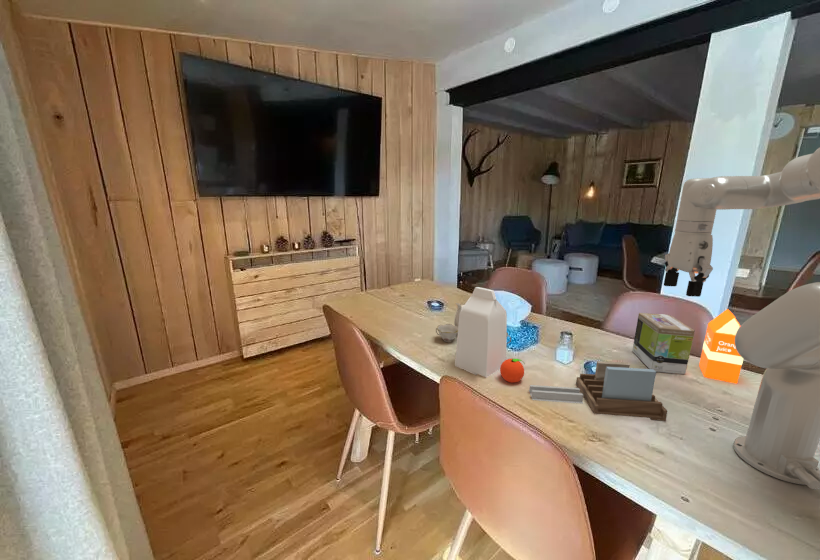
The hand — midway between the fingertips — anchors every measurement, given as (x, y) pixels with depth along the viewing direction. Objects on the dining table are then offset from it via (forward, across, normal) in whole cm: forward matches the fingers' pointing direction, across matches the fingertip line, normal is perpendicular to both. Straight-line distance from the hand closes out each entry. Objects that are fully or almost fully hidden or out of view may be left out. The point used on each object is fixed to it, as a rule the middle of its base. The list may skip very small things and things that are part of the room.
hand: (680, 290), depth 94 cm
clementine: (+29, -3, +43) cm, 52 cm away
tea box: (+29, +14, -6) cm, 33 cm away
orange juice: (+29, +8, -20) cm, 36 cm away
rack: (+28, -11, +17) cm, 35 cm away
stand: (+28, -11, +33) cm, 45 cm away
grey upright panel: (+28, -15, +17) cm, 36 cm away
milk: (+29, +6, +52) cm, 60 cm away
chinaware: (+29, +26, +53) cm, 66 cm away
